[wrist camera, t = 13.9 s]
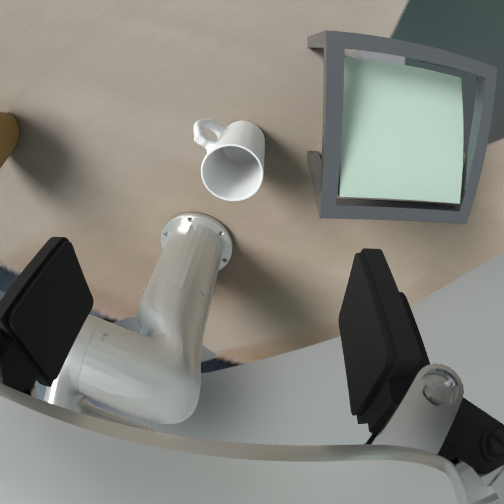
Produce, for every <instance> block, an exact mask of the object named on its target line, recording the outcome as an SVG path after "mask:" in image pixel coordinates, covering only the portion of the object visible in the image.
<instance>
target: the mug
mask: <svg viewBox="0 0 504 504" xmlns="http://www.w3.org/2000/svg"><path fill="white" fill-rule="evenodd" d="M203 127H206V128H208V129H210V130H212V131H213V132H214V133H215V134H216V135H217V136H218V139H217V141H213V140H212V139H210V138H209V137H208V136H207V135H206V134H205V132H204V130H203ZM194 136H195V138H194V141H195V142H197V143H198V144H199V145H201V146H203V147H205V148H206V150H207V155H206V156H205V158H204V160H203V162H202V166H201V176H202V180H203V182H204V184H205V186H206V188H207V189H208V190H209V191H210V192H211V193H212V194H213V195H215V196H217V197H218V198H221V199H223V200H227V201H241V200H244V199H247V198H249V197H251V196H253V195H254V194H255V193H256V192H257V191H258V189H259V188H260V186H261V184H262V181H263V173H264V156H265V138H264V134H263V132H262V131H261V129H260V128H259V127H258V126H257V125H255V124H254V123H252V122H249V121H236V122H233V123H231V124H230V125H228V126H227V127H224V126H223V125H221V124H220V123H219V122H218V121H217V120H215V119H200V120H198V121H197V122H196V123H195V124H194Z"/></svg>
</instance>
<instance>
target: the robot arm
mask: <svg viewBox="0 0 504 504" xmlns="http://www.w3.org/2000/svg"><path fill="white" fill-rule="evenodd" d="M160 239H161V247H162V250H163V252H162V254H161V256H160V258H159V260H158V262H157V265H156V267H155V269H154V271H153V273H152V275H151V278H150V280H149V282H148V284H147V286H146V289H145V291H144V293H143V296H142V298H141V300H140V303H139V306H138V312H137V316H138V324H139V328H140V332H141V334H139V333H135V332H132V331H130V330H127V329H125V328H122V327H120V326H117V325H114V324H112V323H110V322H108V321H105V320H103V319H100V318H98V317H95V316H92V315H89V313H90V311H91V309H92V307H93V297H92V295H91V292H90V290H89V287H88V285H87V283H86V280H85V278H84V275H83V272H82V270H81V267H80V265H79V262H78V259H77V256H76V254H75V251H74V248H73V245H72V243H71V242H69V240H68V239H67V238H65V237H52V238H50V239H49V240H48V241H47V243H46V244H45V245H44V246H43V247H42V248H41V250H40V251H39V252H38V253H37V254H36V256H35V257H34V258H33V259H32V260H31V262H30V263H29V264H28V265H27V266H26V268H25V269H24V270H23V272H22V273H21V274H20V275H19V277H18V278H17V279H16V281H15V282H14V283H13V284H12V286H11V287H10V288H9V290H8V291H7V292H6V294H5V295H4V297H3V298H2V300H1V301H0V504H504V425H503V424H502V423H500V422H499V421H497V420H496V419H494V418H493V417H491V416H490V415H488V414H487V413H486V412H484V411H483V410H481V409H480V408H478V407H477V406H475V405H474V404H472V403H471V402H469V401H468V400H466V399H465V398H463V393H464V390H463V384H462V382H461V379H460V377H459V376H458V375H457V373H456V372H455V371H454V370H452V369H451V368H450V367H448V366H445V365H442V364H430V362H429V359H428V356H427V353H426V351H425V347H424V344H423V341H422V338H421V336H420V333H419V330H418V327H417V324H416V322H415V319H414V316H413V313H412V311H411V308H410V306H409V303H408V301H407V298H406V296H405V294H404V293H402V292H399V291H398V288H397V286H396V283H395V281H394V278H393V276H392V273H391V271H390V268H389V266H388V264H387V261H386V259H385V257H384V254H383V252H382V250H380V249H365V248H364V249H362V251H361V253H356V254H355V257H354V261H353V265H352V269H351V273H350V277H349V281H348V285H347V289H346V292H345V296H344V300H343V303H342V307H341V310H340V314H339V328H340V334H341V341H342V347H343V353H344V360H345V368H346V375H347V382H348V390H349V398H350V406H351V413H352V415H357V420H358V424H365V423H368V426H369V431H370V432H371V435H370V436H369V437H368V439H367V440H366V442H365V443H364V444H363V445H324V446H323V445H321V446H320V445H319V446H293V445H291V446H290V445H264V444H263V445H262V444H245V443H233V442H221V441H212V440H204V439H196V438H190V437H183V436H177V435H171V434H165V433H159V432H157V431H155V430H154V429H152V428H150V427H148V426H145V425H143V424H141V423H138V422H135V421H133V420H130V419H127V418H125V417H122V416H119V415H116V414H114V413H111V412H109V411H106V410H104V409H101V408H99V407H96V406H94V405H92V404H90V403H89V401H88V399H87V397H88V398H91V399H93V400H96V401H98V402H101V403H103V404H106V405H108V406H111V407H113V408H115V409H117V410H120V411H122V412H125V413H128V414H130V415H134V416H136V417H139V418H142V419H145V420H149V421H153V422H157V423H165V424H174V423H179V422H182V421H184V420H186V419H187V418H188V417H189V416H190V415H191V414H192V413H193V411H194V410H195V408H196V405H197V403H198V399H199V393H200V374H201V350H202V343H203V337H204V332H205V327H206V323H207V318H208V314H209V309H210V305H211V300H212V296H213V292H214V287H215V283H216V279H217V274H218V271H219V270H221V269H222V268H224V267H225V266H226V265H227V263H228V262H229V260H230V258H231V255H232V249H233V245H232V239H231V236H230V234H229V233H228V231H227V229H226V228H225V227H224V226H223V225H222V224H221V223H220V222H218V221H217V220H216V219H214V218H212V217H210V216H207V215H205V214H200V213H183V214H180V215H177V216H175V217H174V218H172V219H171V220H170V221H169V222H168V223H167V224H166V225H165V227H164V229H163V231H162V233H161V238H160ZM36 380H37V381H38V382H39V383H40V384H42V385H45V386H47V388H46V393H45V398H44V401H43V400H40V399H38V395H37V391H36V387H35V381H36Z"/></svg>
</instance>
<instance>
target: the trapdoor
mask: <svg viewBox="0 0 504 504" xmlns="http://www.w3.org/2000/svg"><path fill="white" fill-rule="evenodd" d="M462 103H463V102H462V88H461V78H459V77H456V76H452V75H448V74H444V73H440V72H436V71H431V70H427V69H422V68H417V67H412V66H407V65H402V64H396V63H390V62H383V61H376V60H368V59H360V58H350V57H344V93H343V119H342V137H341V153H340V166H339V179H338V196H340V197H362V198H385V199H403V200H419V201H433V202H446V203H458V204H460V196H461V184H462V168H463V104H462Z"/></svg>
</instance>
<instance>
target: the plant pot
mask: <svg viewBox="0 0 504 504" xmlns="http://www.w3.org/2000/svg"><path fill="white" fill-rule="evenodd" d="M19 136H20V131H19V125H18V122H17V120H16V119H15V117H14V116H13V115H11V114H10V113H3V112H0V168H1V167H2V165H3V164H4V162H5V161H6V159H7V158H8V157H9V155H10V154H11V152H12V151H13V149H14V148H15V146H16V144H17V143H18V140H19Z"/></svg>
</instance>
